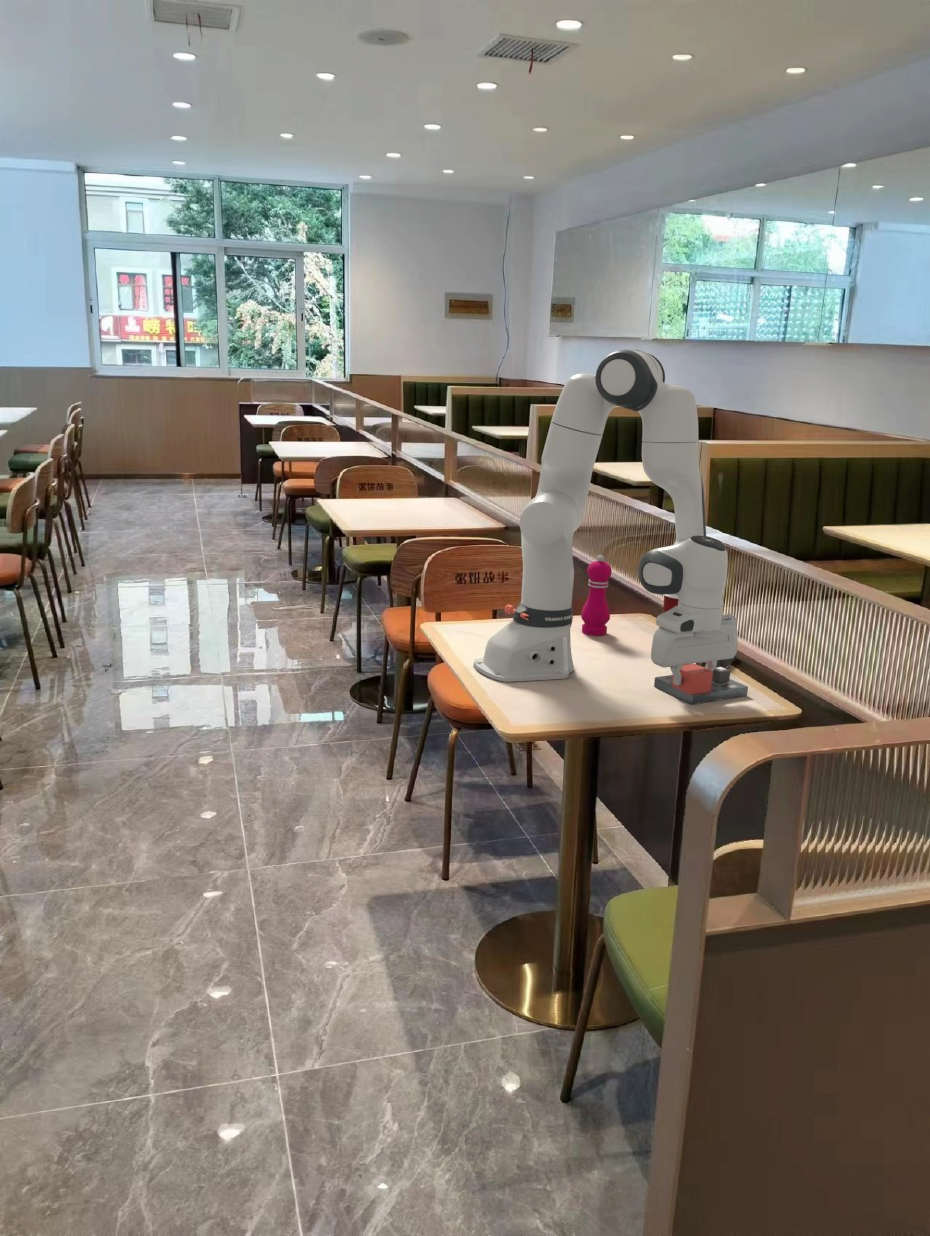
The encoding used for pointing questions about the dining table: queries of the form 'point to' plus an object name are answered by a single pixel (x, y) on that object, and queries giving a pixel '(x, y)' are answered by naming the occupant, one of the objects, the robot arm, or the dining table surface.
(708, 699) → the panel
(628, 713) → the dining table surface
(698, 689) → the cap
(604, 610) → the pepper mill
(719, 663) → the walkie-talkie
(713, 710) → the dining table surface
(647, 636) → the dining table surface
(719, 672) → the block
